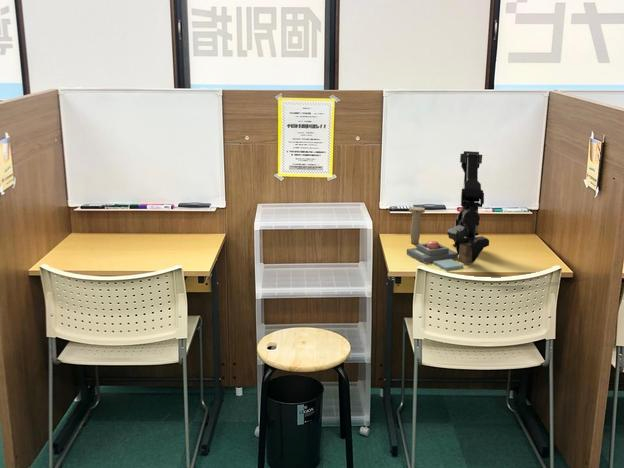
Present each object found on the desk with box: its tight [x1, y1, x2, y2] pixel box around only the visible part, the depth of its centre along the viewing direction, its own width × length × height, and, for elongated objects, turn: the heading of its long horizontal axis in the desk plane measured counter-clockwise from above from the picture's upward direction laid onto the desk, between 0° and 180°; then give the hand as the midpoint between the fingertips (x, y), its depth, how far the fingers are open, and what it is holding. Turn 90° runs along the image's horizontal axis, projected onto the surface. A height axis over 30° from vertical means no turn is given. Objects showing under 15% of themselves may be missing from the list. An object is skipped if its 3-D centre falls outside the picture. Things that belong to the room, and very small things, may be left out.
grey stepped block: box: [406, 242, 459, 264], centre depth 266 cm, size 16×12×4 cm
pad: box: [432, 259, 464, 271], centre depth 255 cm, size 8×8×1 cm
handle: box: [408, 206, 426, 245], centre depth 280 cm, size 5×6×15 cm
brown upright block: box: [457, 243, 474, 265], centre depth 259 cm, size 4×4×7 cm
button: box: [426, 240, 440, 249], centre depth 265 cm, size 4×4×4 cm
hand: (465, 258), depth 260 cm, fingers open, 9 cm apart
